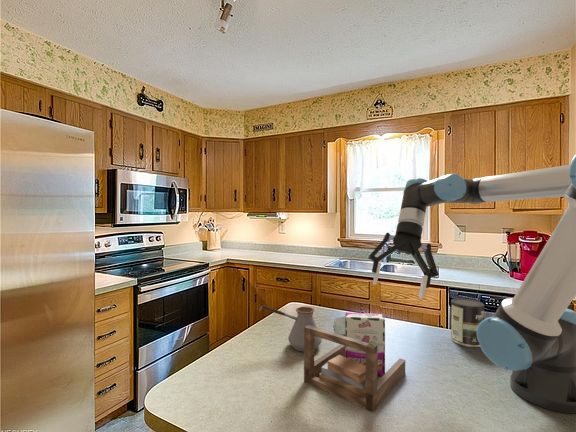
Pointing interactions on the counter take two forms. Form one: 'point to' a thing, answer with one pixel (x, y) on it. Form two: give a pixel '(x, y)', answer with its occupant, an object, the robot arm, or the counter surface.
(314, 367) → the offcut rack
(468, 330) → the coffee can
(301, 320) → the coffee pot
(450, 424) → the counter surface
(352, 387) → the offcut stack
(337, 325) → the stone slab
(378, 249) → the robot arm
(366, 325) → the candy bar box
